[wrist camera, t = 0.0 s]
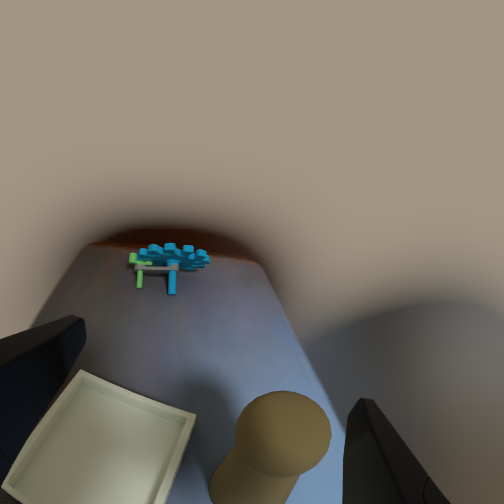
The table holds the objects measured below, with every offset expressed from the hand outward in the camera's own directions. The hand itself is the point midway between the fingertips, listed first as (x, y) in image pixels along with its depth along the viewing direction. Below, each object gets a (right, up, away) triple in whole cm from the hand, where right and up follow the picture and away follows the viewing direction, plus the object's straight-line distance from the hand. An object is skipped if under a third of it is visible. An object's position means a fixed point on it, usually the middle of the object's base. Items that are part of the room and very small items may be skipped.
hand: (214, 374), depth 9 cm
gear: (-11, -1, +34) cm, 36 cm away
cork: (+1, -15, +10) cm, 18 cm away
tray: (-10, -12, +8) cm, 18 cm away
